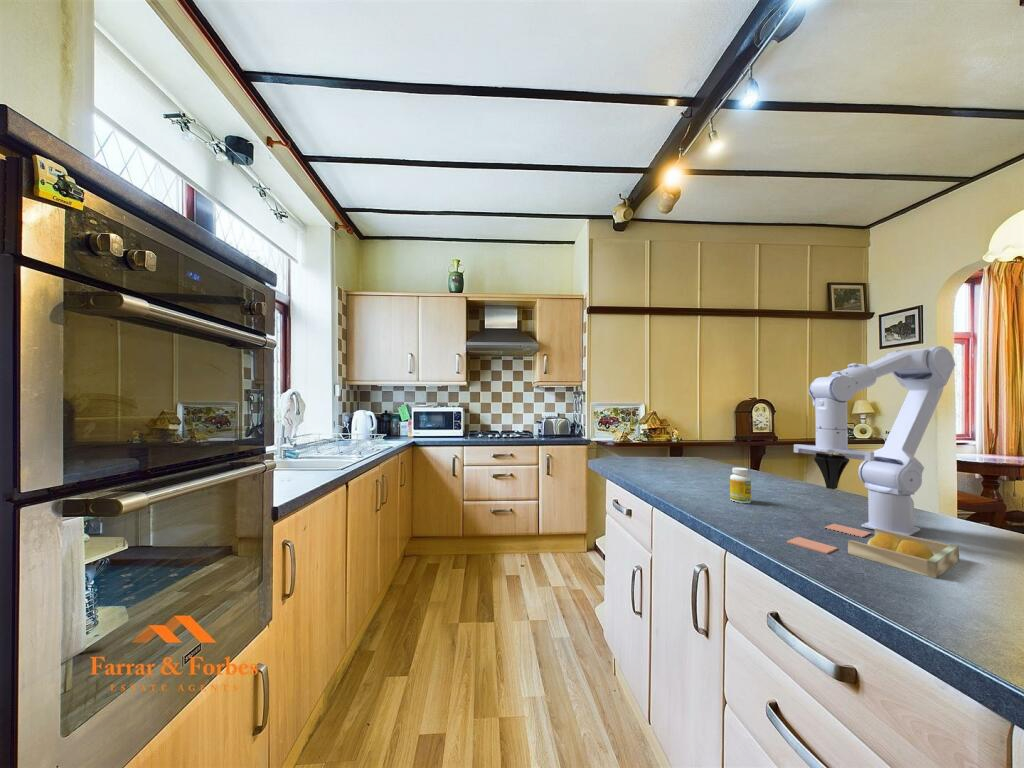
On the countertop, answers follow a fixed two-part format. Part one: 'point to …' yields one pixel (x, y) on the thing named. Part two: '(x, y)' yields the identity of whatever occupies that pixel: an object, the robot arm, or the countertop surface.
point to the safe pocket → (931, 567)
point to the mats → (823, 547)
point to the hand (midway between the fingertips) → (831, 488)
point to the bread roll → (901, 546)
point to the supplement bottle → (740, 486)
